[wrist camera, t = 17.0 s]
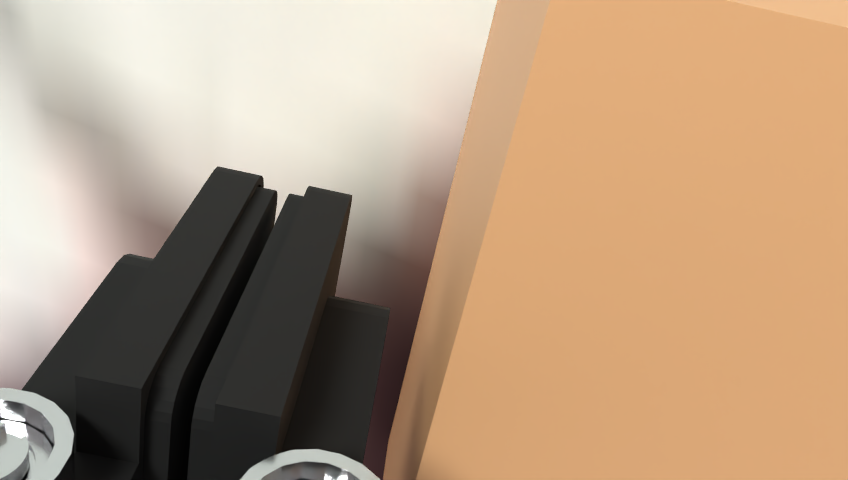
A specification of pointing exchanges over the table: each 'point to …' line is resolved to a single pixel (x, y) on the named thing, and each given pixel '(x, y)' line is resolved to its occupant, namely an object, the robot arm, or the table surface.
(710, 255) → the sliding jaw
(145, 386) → the robot arm
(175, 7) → the table surface
